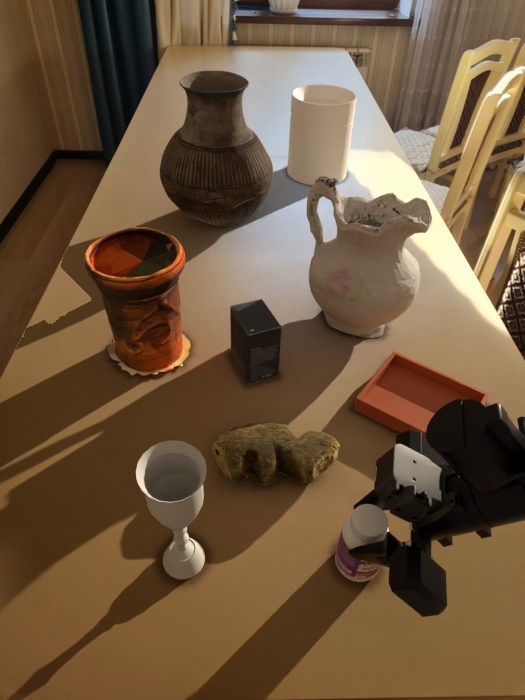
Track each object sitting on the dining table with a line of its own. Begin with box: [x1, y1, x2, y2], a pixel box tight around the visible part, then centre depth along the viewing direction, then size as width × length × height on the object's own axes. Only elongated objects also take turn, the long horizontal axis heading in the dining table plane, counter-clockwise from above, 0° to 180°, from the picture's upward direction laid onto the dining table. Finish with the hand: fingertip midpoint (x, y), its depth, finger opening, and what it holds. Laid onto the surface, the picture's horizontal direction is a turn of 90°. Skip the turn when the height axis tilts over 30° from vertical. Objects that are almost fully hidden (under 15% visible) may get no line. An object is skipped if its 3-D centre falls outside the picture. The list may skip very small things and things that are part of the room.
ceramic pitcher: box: [306, 176, 433, 339], centre depth 92 cm, size 22×20×25 cm
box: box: [229, 298, 283, 385], centre depth 86 cm, size 8×6×11 cm
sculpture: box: [211, 422, 341, 486], centre depth 74 cm, size 18×5×10 cm
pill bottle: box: [334, 504, 390, 583], centre depth 62 cm, size 5×5×10 cm
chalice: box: [135, 439, 208, 580], centre depth 59 cm, size 7×7×18 cm
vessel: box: [83, 226, 192, 377], centre depth 85 cm, size 14×14×20 cm
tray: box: [353, 350, 490, 436], centre depth 83 cm, size 16×13×3 cm
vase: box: [159, 70, 274, 227], centre depth 116 cm, size 25×25×30 cm
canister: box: [286, 83, 358, 186], centre depth 139 cm, size 16×16×20 cm
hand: (353, 530), depth 61 cm, fingers closed on pill bottle, 5 cm apart
